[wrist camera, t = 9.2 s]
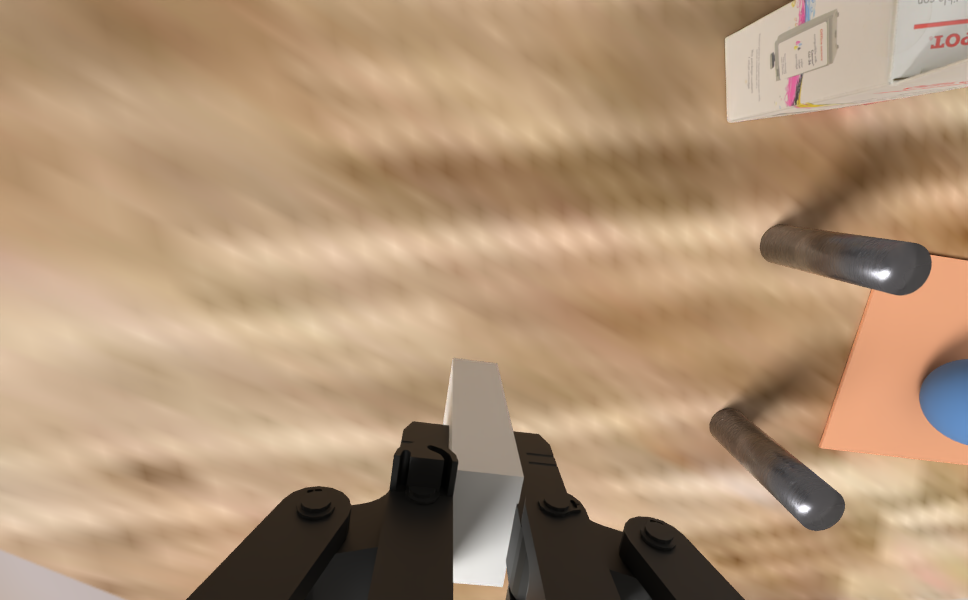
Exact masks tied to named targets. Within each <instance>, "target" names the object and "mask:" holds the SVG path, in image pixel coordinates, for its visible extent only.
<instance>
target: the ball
mask: <svg viewBox="0 0 968 600" xmlns="http://www.w3.org/2000/svg"><path fill="white" fill-rule="evenodd" d="M919 402H920V406H921V409H922V412H923V414H924V416H925V417H926V419H927V420H928V421H929V423H930V424H931V425H932V426H933V427H934V428H935V429H936V430H938V431H939V432H940V433H942V434H943V435H945V436H946V437H948V438H950V439H952V440H954V441H956V442H959V443H961V444H965V445H968V359H961V360H956V361H952V362H948V363H946V364H943V365H941V366H939V367H938V368H936V369H935V370H933V371H932V372H931V373H930V374H929V375H928V376H927V377H926V378H925V380H924V381H923V383H922V385H921V388H920V393H919Z"/></svg>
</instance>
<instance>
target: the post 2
mask: <svg viewBox="0 0 968 600" xmlns="http://www.w3.org/2000/svg"><path fill="white" fill-rule="evenodd" d="M760 251H761V254H762V256H763V257H764V258H765V259H766V260H767V261H769V262H771V263H775V264H779V265H782V266H786V267H790V268H794V269H798V270H801V271H805V272H809V273H813V274H817V275H820V276H824V277H828V278H832V279H836V280H840V281H843V282H847V283H851V284H855V285H859V286H862V287H866V288H870V289H874V290H878V291H882V292H885V293H889V294H893V295H899V296H902V295H907V294H910V293H913V292H915V291H916V290H918V289H919V288H920V287H921V286H922V285H923V284H924V283H925V282H926V280H927V278H928V277H929V274H930V271H931V267H932V260H931V256H930V253H929V252H928V250H927V249H926V248H925V247H924V246H922V245H920V244H917V243H911V242H904V241H897V240H890V239H882V238H875V237H868V236H861V235H853V234H846V233H839V232H832V231H824V230H817V229H810V228H803V227H795V226H788V225H777V226H774V227H772V228H770V229H769V230H768V231H767V232H766V233H765V234H764V235H763V237H762V239H761V243H760Z"/></svg>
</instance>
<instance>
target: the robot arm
mask: <svg viewBox="0 0 968 600" xmlns="http://www.w3.org/2000/svg"><path fill="white" fill-rule="evenodd" d="M506 567H507V574H508V581H509V585H508V590H507V595H506V600H745V599H744V598H743V597H742V596H741V595H740V594H739V593H738V592H737V591H736V590H735V589H734V588H733V587H732V586H731V585H730V584H729V582H728V581H727V580H726V579H725V578H724V577H723V576H722V575H721V574H720V573H719V572H718V571H717V570H716V569H715V568H714V567H713V566H712V565H711V563H710V562H709V561H708V560H707V559H706V558H705V557H704V556H703V555H702V554H701V553H700V552H699V551H698V550H697V549H696V548H695V547H694V546H693V544H692V543H691V542H690V541H689V540H688V539H687V538H686V537H685V536H684V535H683V534H682V533H680V532H679V531H678V530H677V529H676V528H674V527H673V526H671V525H669V524H667V523H665V522H664V521H661V520H659V519H655V518H651V517H640V516H638V517H635V518H631V519H629V520H628V521H627V522H626V523H625V526H624V530H623V532H621V531H618V530H615V529H612V528H609V527H605V526H602V525H600V524H597V523H595V522H593V521H591V520H589V517H588V515H587V512H586V510H585V508H584V507H583V505H582V504H581V502H580V501H578V500H577V499H576V498H575V497H573V496H572V495H570V494H568V493H567V492H566V489H565V486H564V483H563V481H562V478H561V475H560V472H559V470H558V467H557V464H556V461H555V458H553V453H552V450H551V447H550V445H549V444H548V443H547V442H546V441H545V440H544V439H543V438H542V437H541V436H540V435H539V434H532V433H523V432H514V431H513V428H512V424H511V420H510V416H509V411H508V407H507V403H506V399H505V394H504V390H503V386H502V382H501V377H500V373H499V369H498V364H497V363H490V362H482V361H474V360H466V359H458V358H453V360H452V367H451V374H450V381H449V387H448V394H447V401H446V408H445V414H444V421H443V425H440V424H431V423H422V422H412V423H411V424H410V425H409V426H407V427H406V428H405V429H404V431H403V436H402V440H401V445H400V448H398V449H397V451H396V453H395V454H394V459H393V467H392V475H391V483H390V490H389V492H388V493H387V494H386V495H384V496H383V497H381V498H380V499H377V500H375V501H372V502H369V503H364V504H358V505H351V504H350V500H349V498H348V497H347V496H346V495H345V494H344V493H343V492H341V491H338V490H336V489H333V488H329V487H321V486H317V487H308V488H304V489H301V490H298V491H295V492H293V493H291V494H290V495H289V496H287V497H286V498H284V499H283V500H282V501H281V502H280V503H279V504H278V505H277V506H276V507H275V509H274V510H273V511H272V512H271V513H270V514H269V515H268V516H267V517H266V518H265V519H264V520H263V521H262V522H261V523H260V524H259V525H258V526H257V527H256V528H255V529H254V530H253V531H252V532H251V533H250V534H249V535H248V536H247V537H246V538H245V539H244V541H243V542H242V543H241V544H240V545H239V546H238V547H237V548H236V549H235V550H234V551H233V552H232V553H231V554H230V555H229V556H228V557H227V558H226V559H225V560H224V561H223V562H222V563H221V564H220V565H219V566H218V567H217V568H216V569H215V570H214V571H213V573H212V574H211V575H210V576H209V577H208V578H207V579H206V580H205V581H204V582H203V583H202V584H201V585H200V586H199V587H198V588H197V589H196V590H195V591H194V592H193V593H192V594H191V595H190V596H189V597H188V598H187V599H186V600H453V583H462V584H474V585H486V586H498V587H503V583H504V578H505V572H506Z"/></svg>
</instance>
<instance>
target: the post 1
mask: <svg viewBox="0 0 968 600" xmlns="http://www.w3.org/2000/svg"><path fill="white" fill-rule="evenodd" d="M710 432H711V434H712V436H713V437H714V438H715V439H716V440H717V441H718V442H719V443H720V444H721V445H722V446H723V447H724V448H725V449H726V450H727V451H728V452H729V453H730V454H731V455H732V456H733V457H734V458H736V459H737V460H738V461H739V462H740V463H741V464H742V465H743V466H744V467H745V468H746V469H747V470H748V471H749V472H750V473H751V474H752V475H753V476H754V477H755V478H756V479H757V480H758V481H759V482H760V483H761V484H762V485H763V486H764V487H765V488H766V489H767V490H768V491H769V492H770V493H771V494H772V495H773V496H774V497H775V498H776V499H777V500H778V501H779V502H780V503H781V504H782V505H783V506H784V507H785V508H786V509H787V510H788V511H789V512H790V513H791V514H792V515H793V516H794V517H795V518H796V519H797V520H798V521H799V522H800V523H801V524H802V525H803V526H804V527H806V528H807V529H810V530H814V531H820V530H825V529H828V528H830V527H832V526H833V525H835V524H836V523H837V522H838V521H839V520H840V518H841V517H842V515H843V513H844V509H845V502H844V499H843V497H842V496H841V495H840V494H839V493H838V492H837V491H836V490H835V489H833V488H832V487H831V486H830V485H828V484H827V483H826V482H825V481H824V480H822V479H821V478H820V477H819V476H817V475H816V474H815V473H814V472H812V471H811V470H810V469H809V468H808V467H806V466H805V465H804V464H803V463H801V462H800V461H799V460H798V459H797V458H795V457H794V456H793V455H792V454H790V453H789V452H788V451H787V450H785V449H784V448H783V447H782V446H781V445H779V444H778V443H777V442H776V441H774V440H773V439H772V438H771V437H770V436H768V435H767V434H766V433H765V432H763V431H762V430H761V429H760V428H758V427H757V426H756V425H755V424H754V423H752V422H751V421H750V420H749V419H747V418H746V417H745V416H744V415H743V414H741V413H740V412H739V411H737V410H735V409H723V410H721V411H719V412H718V413H716V414H715V415H714V416H713V418H712V419H711V422H710Z"/></svg>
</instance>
